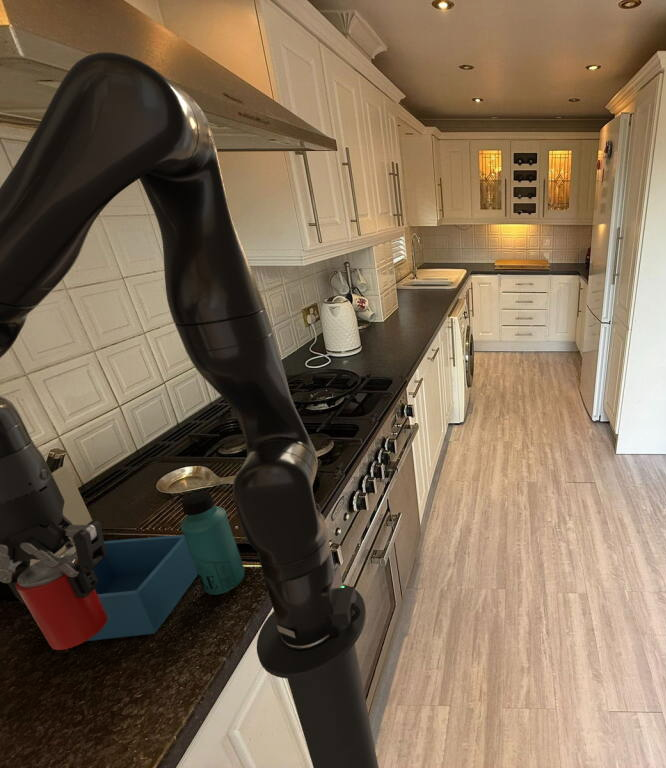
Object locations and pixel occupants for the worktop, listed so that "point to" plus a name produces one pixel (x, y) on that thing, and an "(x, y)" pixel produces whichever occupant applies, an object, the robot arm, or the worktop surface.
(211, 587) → the beverage bottle
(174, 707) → the worktop surface
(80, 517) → the lid
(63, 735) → the worktop surface
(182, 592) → the cool box
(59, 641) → the can
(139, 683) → the worktop surface
